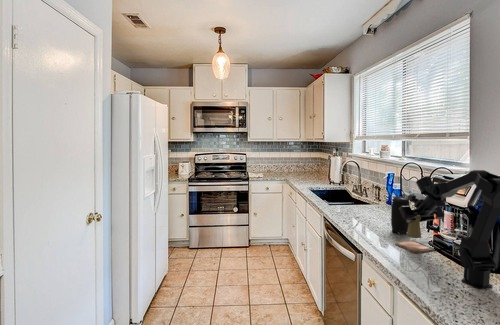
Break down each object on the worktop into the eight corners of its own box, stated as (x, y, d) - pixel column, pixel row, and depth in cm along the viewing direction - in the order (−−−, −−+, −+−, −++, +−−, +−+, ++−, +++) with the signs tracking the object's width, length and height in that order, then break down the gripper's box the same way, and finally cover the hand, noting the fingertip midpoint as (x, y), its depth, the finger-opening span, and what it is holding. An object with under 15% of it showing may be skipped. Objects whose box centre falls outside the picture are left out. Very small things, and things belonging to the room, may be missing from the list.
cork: (412, 233, 142) (412, 211, 141) (424, 237, 136) (425, 213, 135) (403, 235, 139) (404, 212, 138) (415, 239, 134) (416, 215, 133)
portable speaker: (411, 232, 160) (413, 197, 159) (403, 236, 155) (404, 199, 153) (396, 228, 167) (397, 195, 166) (387, 231, 162) (388, 197, 160)
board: (448, 248, 137) (449, 246, 137) (415, 253, 131) (416, 251, 131) (426, 240, 149) (426, 237, 149) (395, 244, 142) (395, 242, 142)
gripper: (440, 188, 133) (423, 206, 145) (401, 188, 131) (387, 207, 143) (453, 209, 126) (434, 226, 137) (412, 210, 124) (396, 228, 136)
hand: (412, 221), depth 139 cm, fingers closed on cork, 5 cm apart
